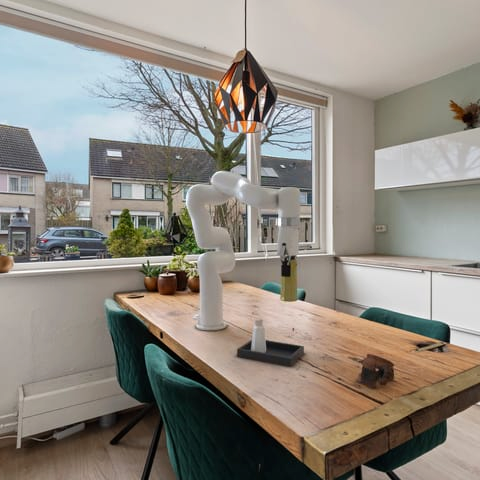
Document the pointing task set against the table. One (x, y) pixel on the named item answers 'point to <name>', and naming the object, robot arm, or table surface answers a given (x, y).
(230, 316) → the table surface
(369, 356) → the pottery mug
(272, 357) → the tray
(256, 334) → the salt shaker
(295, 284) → the vase
